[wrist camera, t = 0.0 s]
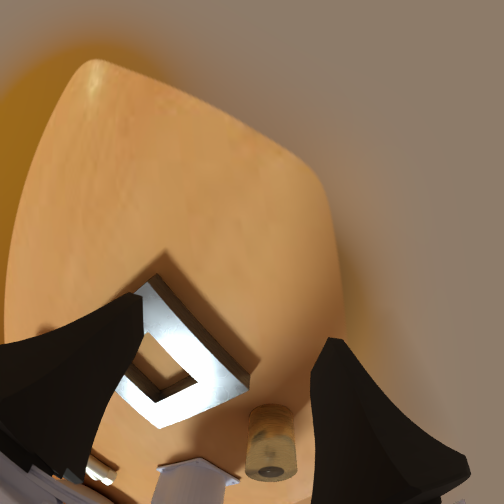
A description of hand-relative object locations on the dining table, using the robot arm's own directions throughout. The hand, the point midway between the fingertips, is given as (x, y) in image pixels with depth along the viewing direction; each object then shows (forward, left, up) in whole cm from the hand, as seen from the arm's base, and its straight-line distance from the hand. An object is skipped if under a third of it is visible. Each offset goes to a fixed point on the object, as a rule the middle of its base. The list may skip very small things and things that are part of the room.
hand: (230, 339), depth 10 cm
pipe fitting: (-44, -12, -11) cm, 47 cm away
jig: (-12, -2, -11) cm, 16 cm away
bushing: (-8, -14, -11) cm, 20 cm away
